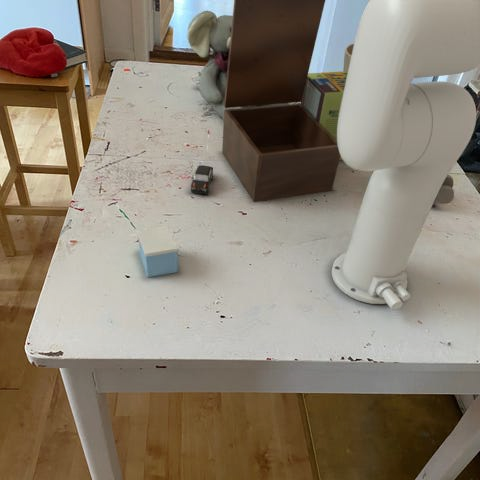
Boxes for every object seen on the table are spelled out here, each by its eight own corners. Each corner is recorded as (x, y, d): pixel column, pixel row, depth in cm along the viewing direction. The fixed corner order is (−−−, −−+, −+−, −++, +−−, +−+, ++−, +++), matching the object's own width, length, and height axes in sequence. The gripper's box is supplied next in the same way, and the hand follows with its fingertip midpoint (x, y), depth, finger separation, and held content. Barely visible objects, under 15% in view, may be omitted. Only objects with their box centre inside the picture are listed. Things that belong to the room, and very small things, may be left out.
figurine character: (440, 202, 101) (374, 180, 102) (459, 171, 95) (388, 148, 96) (440, 219, 97) (370, 196, 97) (460, 188, 91) (386, 163, 92)
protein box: (371, 158, 109) (392, 88, 98) (310, 164, 105) (324, 92, 94) (350, 136, 116) (368, 69, 104) (292, 141, 112) (304, 72, 100)
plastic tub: (178, 272, 78) (178, 248, 74) (147, 278, 76) (145, 253, 72) (169, 249, 81) (168, 225, 78) (139, 254, 80) (136, 230, 76)
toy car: (188, 194, 93) (188, 157, 87) (200, 164, 101) (200, 128, 95) (208, 197, 93) (209, 160, 87) (218, 166, 101) (219, 131, 95)
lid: (326, -5, 86) (314, -17, 89) (236, -4, 81) (226, -17, 84) (301, 102, 103) (291, 88, 105) (224, 108, 98) (217, 94, 100)
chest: (331, 190, 98) (343, 146, 91) (253, 201, 93) (258, 155, 86) (293, 145, 110) (300, 103, 103) (221, 153, 105) (224, 109, 98)
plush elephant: (297, 113, 122) (312, 22, 107) (232, 134, 112) (238, 36, 96) (231, 77, 135) (236, -8, 120) (167, 93, 124) (163, 1, 109)
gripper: (238, -103, 73) (231, 28, 86) (336, -98, 78) (315, 26, 91) (223, -110, 78) (218, 16, 91) (316, -104, 83) (299, 14, 96)
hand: (267, 20), depth 91 cm, fingers closed on lid, 6 cm apart
